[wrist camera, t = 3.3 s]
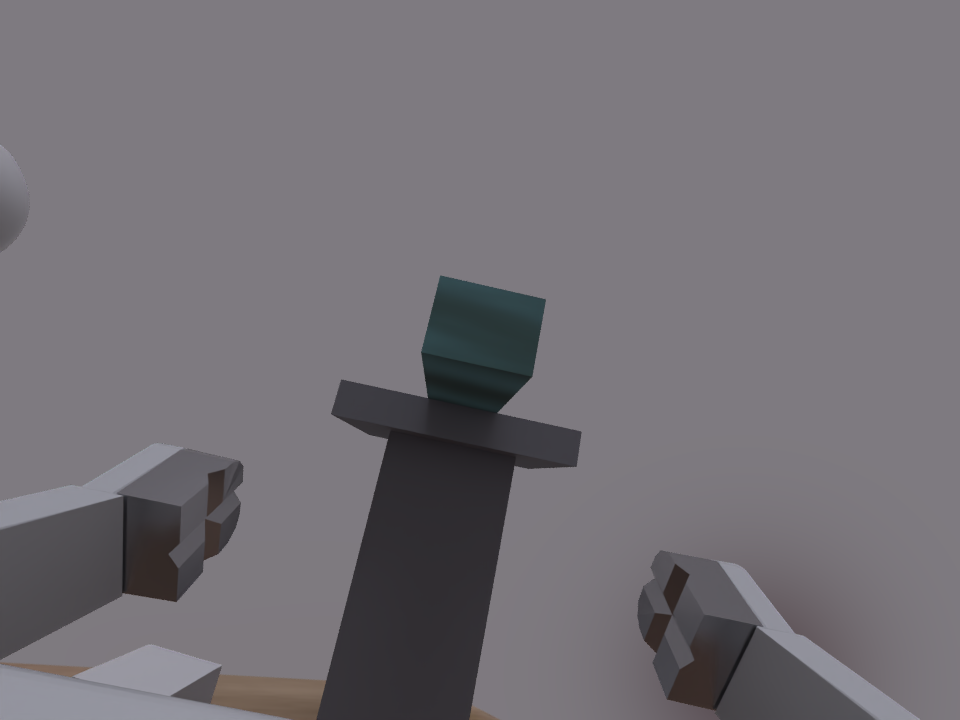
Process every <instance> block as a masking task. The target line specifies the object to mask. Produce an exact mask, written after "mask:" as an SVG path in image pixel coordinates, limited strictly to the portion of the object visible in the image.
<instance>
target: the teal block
mask: <svg viewBox="0 0 960 720" xmlns="http://www.w3.org/2000/svg"><path fill="white" fill-rule="evenodd" d="M545 302H546V300H545V299H542V298H537V297H533V296H528V295H524V294H520V293H515V292H511V291H506V290H502V289H497V288H493V287H489V286H484V285H480V284H475V283H471V282H467V281H462V280H458V279H454V278H449V277H444V276H440V279H439V283H438V287H437V291H436V295H435V299H434V303H433V307H432V311H431V315H430V319H429V323H428V327H427V331H426V335H425V340H424V343H423V347H422V351H421V353H422V360H423V367H424V374H425V381H426V387H427V394H428V398H429V399H433V400H438V401H443V402H447V403H452V404H457V405H461V406H466V407H470V408H475V409H480V410H484V411H489V412H493V413H497V412H498V411H499V410H500V409H501V408H502V407H503V406H504V405H505V404H506V403H507V402H508V401H509V400H510V399H511V398H512V397H513V396H514V395H515V394H516V393H517V392H518V391H519V390H520V389H521V388H522V387H523V386H524V385H525V384H526V383H527V382H528V381H529V379H530V378H531V377H532V375H533V369H534V364H535V358H536V352H537V347H538V341H539V335H540V330H541V324H542V319H543V313H544V307H545Z"/></svg>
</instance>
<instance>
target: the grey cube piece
mask: <svg viewBox="0 0 960 720" xmlns="http://www.w3.org/2000/svg"><path fill="white" fill-rule="evenodd" d="M221 667H222V665H220V664H216V663H213V662H210V661H207V660H203V659H200V658H196V657H193V656H190V655H186V654H183V653H179V652H176V651H172V650H169V649H166V648H162V647H159V646H155V645H152V644H149V645H146V646H144V647H141V648H139V649H137V650H134V651H132V652H129V653H127V654H125V655H122V656H120V657H118V658H115V659H113V660H111V661H108V662H106V663H103V664H101V665H98V666H96V667H94V668H91V669H89V670H86V671H84V672H82V673H79V674H77V675H75V676H72V678H77V679H82V680H87V681H93V682H98V683H103V684H108V685H114V686H119V687H124V688H129V689H135V690H140V691H145V692H150V693H156V694H161V695H166V696H171V697H177V698H182V699H187V700H192V701H198V702H203V703H208V704H210V703H211V700H212V696H213V693H214V690H215V687H216V683H217V680H218V677H219V674H220V671H221Z"/></svg>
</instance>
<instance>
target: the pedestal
mask: <svg viewBox="0 0 960 720" xmlns="http://www.w3.org/2000/svg"><path fill="white" fill-rule="evenodd" d="M331 414H332V415H334V416H336V417H337V418H339V419H341V420H343V421H345V422H347V423H348V424H350V425H352V426H354V427H356V428H358V429H359V430H361V431H363V432H365V433H367V434H369V435H372V436H377V437H382V438H386V439H388V442H387V446H386V450H385V453H384V458H383V461H382V465H381V469H380V473H379V477H378V481H377V485H376V489H375V492H374V497H373V501H372V504H371V508H370V512H369V516H368V520H367V524H366V528H365V532H364V536H363V539H362V543H361V547H360V551H359V555H358V559H357V563H356V567H355V571H354V575H353V579H352V583H351V586H350V591H349V594H348V598H347V602H346V606H345V610H344V614H343V618H342V622H341V626H340V630H339V634H338V638H337V641H336V645H335V649H334V653H333V657H332V661H331V665H330V669H329V673H328V677H327V680H326V684H325V688H324V692H323V696H322V700H321V704H320V708H319V712H318V716H317V720H469V717H470V712H471V706H472V701H473V694H474V689H475V684H476V678H477V673H478V667H479V661H480V655H481V649H482V644H483V639H484V633H485V628H486V622H487V616H488V611H489V605H490V600H491V594H492V588H493V583H494V577H495V571H496V565H497V560H498V555H499V549H500V543H501V537H502V532H503V526H504V520H505V515H506V509H507V504H508V498H509V492H510V487H511V482H512V476H513V470H514V466H518V467H522V468H527V469H534V468H555V467H556V468H557V467H576V466H577V460H578V453H579V446H580V439H581V431H576V430H571V429H567V428H563V427H558V426H553V425H549V424H544V423H539V422H535V421H530V420H526V419H521V418H516V417H511V416H507V415H502V414H498V413H493V412H489V411H484V410H480V409H475V408H470V407H466V406H461V405H457V404H452V403H447V402H443V401H438V400H433V399H429V398H424V397H420V396H415V395H410V394H406V393H401V392H397V391H392V390H387V389H383V388H378V387H373V386H369V385H364V384H360V383H354V382H350V381H346V380H341V382H340V386H339V389H338V392H337V396H336V399H335V403H334V406H333V409H332V413H331Z"/></svg>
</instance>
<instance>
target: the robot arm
mask: <svg viewBox="0 0 960 720" xmlns="http://www.w3.org/2000/svg"><path fill="white" fill-rule="evenodd" d="M28 213H29V193H28V188H27V184H26V181H25V179H24V176H23V174H22V171H21V170H20V168H19V166H18V164H17V163H16V161H15V160H14V158H13V157H12V155H11V154H10V153H9V152H8V151H7V150H6V149H5V148H4V147H3V146H1V145H0V252H2V251H3V250H5V249H6V248H7V247H8V246H9V245H10V244H12V243H13V242H14V241H15V240H16V238H17V237H18V236H19V234H20V233H21V231H22V230H23V228H24V226H25V223H26V221H27V217H28ZM242 482H243V465H242V464H241V462H240V461H238V460H234V459H229V458H225V457H221V456H216V455H212V454H208V453H203V452H199V451H195V450H191V449H185V448H182V447H178V446H172V445H168V444H163V443H159V444H152V445H150V446H149V447H147V448H145V449H144V450H142V451H140V452H139V453H137V454H135V455H134V456H132V457H131V458H129V459H127V460H125V461H124V462H122V463H120V464H119V465H117V466H115V467H114V468H112V469H110V470H109V471H107V472H105V473H104V474H102V475H100V476H98V477H97V478H95V479H93V480H92V481H90V482H89V483H87V484H85V485H84V486H82V487H79V486H74V485H69V486H65V487H60V488H56V489H52V490H47V491H43V492H38V493H34V494H30V495H25V496H21V497H16V498H12V499H7V500H3V501H0V660H1V659H3V658H5V657H7V656H8V655H10V654H12V653H14V652H16V651H18V650H20V649H22V648H24V647H26V646H28V645H29V644H31V643H33V642H35V641H37V640H39V639H41V638H43V637H45V636H47V635H49V634H51V633H52V632H54V631H56V630H58V629H60V628H62V627H64V626H66V625H68V624H70V623H72V622H73V621H75V620H77V619H79V618H81V617H83V616H85V615H87V614H89V613H91V612H92V611H94V610H96V609H98V608H100V607H102V606H104V605H106V604H108V603H109V602H112V601H114V600H115V599H117V598H119V597H121V596H122V593H125V594H131V595H138V596H144V597H149V598H155V599H162V600H167V601H174V602H177V601H178V600H179V598H180V597H181V596H182V595H183V594H184V593H185V592H186V591H187V589H188V588H189V587H190V586H191V585H192V584H193V582H194V581H195V580H196V579H197V578H198V577H199V576H200V575H201V573H202V572H203V561H204V560H206V559H208V558H210V557H213V556H215V555H217V554H219V552H220V551H221V550H222V549H223V548H224V546H225V545H226V544H227V543H228V541H229V539H230V537H231V535H232V534H233V532H234V530H235V528H236V525H237V521H238V517H239V514H240V504H241V503H240V501H239V499H238V497H237V496H236V494H235V492H234V490H235V489H236V488H237V487H238V486H239V485H240V484H241V483H242ZM651 569H652V572H653V575H654V577H655V579H653V580H652V581H650V582H649V583H647V584H646V585H645V586H643V589H642V592H641V595H640V598H639V602H638V621H639V628H640V630H641V633H642V636H643V639H644V641H645V642H646V643H647V644H648V645H649V646H650V647H651V648H652V649H653V650H654V651H655V652H656V656H655V658H654V660H653V665H654V668H655V670H656V673H657V675H658V678H659V681H660V683H661V685H662V688H663V691H664V693H665V696H666V698H667V700H672V701H676V702H680V703H685V704H689V705H693V706H698V707H702V708H707V709H711V710H715V711H716V712H715V714H716V715H717V716H718V717H719V719H720V720H920V719H919V718H917V717H916V716H915V715H913V714H912V713H910V712H909V711H908V710H906V709H905V708H903V707H902V706H901V705H899V704H898V703H896V702H895V701H894V700H892V699H891V698H890V697H888V696H887V695H885V694H884V693H883V692H881V691H880V690H878V689H877V688H876V687H874V686H873V685H871V684H870V683H869V682H867V681H866V680H865V679H863V678H862V677H860V676H859V675H857V674H856V673H855V672H853V671H852V670H851V669H849V668H848V667H846V666H845V665H844V664H842V663H841V662H839V661H838V660H837V659H835V658H834V657H833V656H831V655H830V654H828V653H827V652H825V651H824V650H823V649H821V648H820V647H818V646H817V645H816V644H814V643H813V642H812V641H810V640H809V639H807V638H806V637H805V636H802V635H798V634H795V633H794V632H793V631H792V629H791V628H790V627H789V625H788V624H787V623H786V621H785V620H784V619H783V618H782V616H781V615H780V614H779V613H778V611H777V610H776V609H775V607H774V606H773V605H772V604H771V602H770V601H769V600H768V598H767V597H766V596H765V594H764V593H763V592H762V591H761V590H760V588H759V587H758V585H757V584H756V583H755V582H754V581H753V579H752V578H751V577H750V575H749V574H748V573H747V571H746V570H745V569H744V568H742V567H740V566H739V565H737V564H734V563H728V562H722V561H716V560H709V559H703V558H698V557H692V556H687V555H682V554H677V553H672V552H666V551H660V552H659V553H658V554H657V555H656V556H655V559H654V561H653V563H652V566H651ZM0 720H292V719H287V718H281V717H276V716H271V715H266V714H261V713H255V712H250V711H245V710H240V709H234V708H229V707H224V706H219V705H213V704H208V703H203V702H198V701H192V700H187V699H182V698H177V697H171V696H166V695H161V694H156V693H150V692H145V691H140V690H135V689H129V688H124V687H119V686H114V685H108V684H103V683H98V682H93V681H87V680H82V679H77V678H72V677H67V676H61V675H56V674H51V673H46V672H40V671H35V670H30V669H25V668H19V667H14V666H9V665H4V664H0Z"/></svg>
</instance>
